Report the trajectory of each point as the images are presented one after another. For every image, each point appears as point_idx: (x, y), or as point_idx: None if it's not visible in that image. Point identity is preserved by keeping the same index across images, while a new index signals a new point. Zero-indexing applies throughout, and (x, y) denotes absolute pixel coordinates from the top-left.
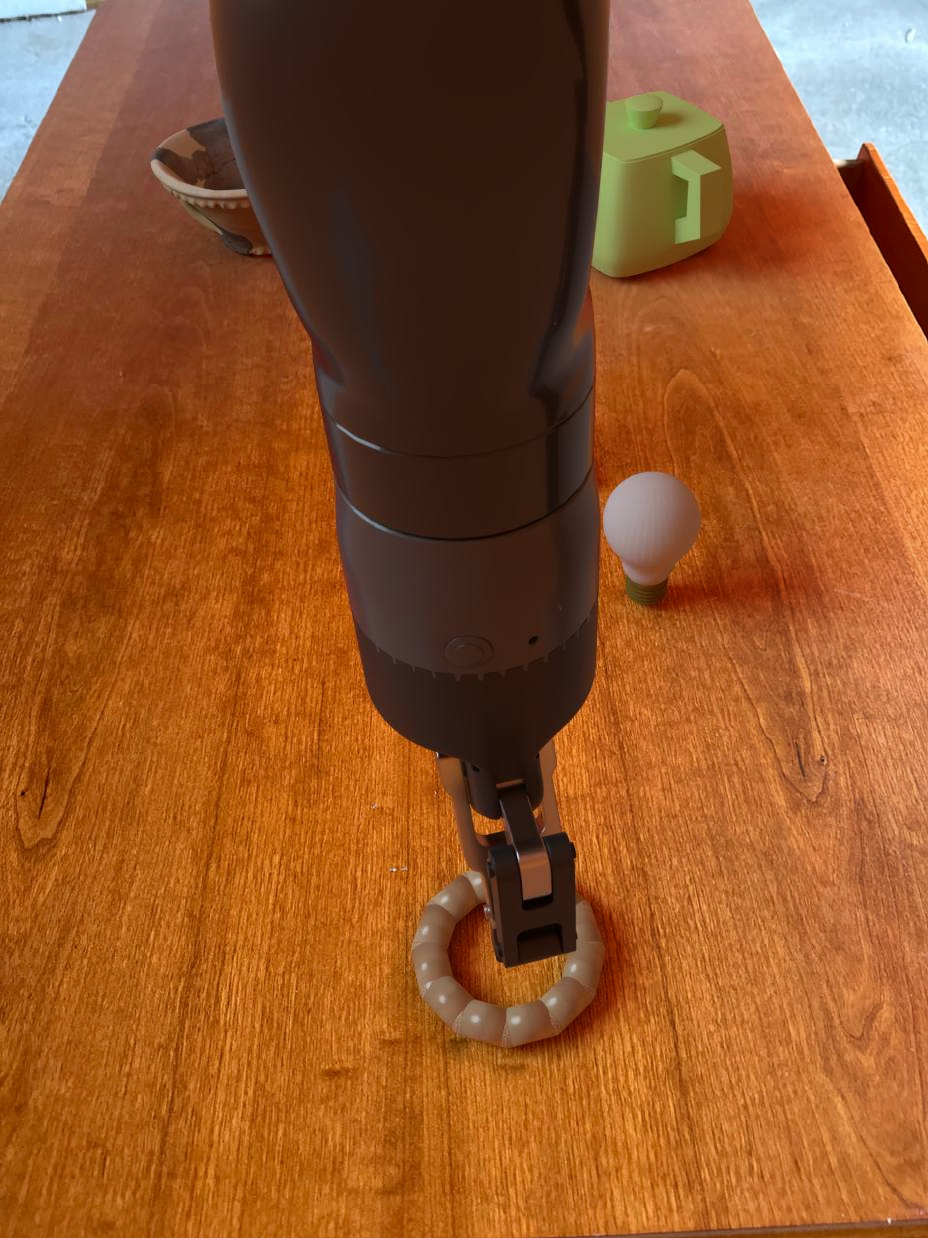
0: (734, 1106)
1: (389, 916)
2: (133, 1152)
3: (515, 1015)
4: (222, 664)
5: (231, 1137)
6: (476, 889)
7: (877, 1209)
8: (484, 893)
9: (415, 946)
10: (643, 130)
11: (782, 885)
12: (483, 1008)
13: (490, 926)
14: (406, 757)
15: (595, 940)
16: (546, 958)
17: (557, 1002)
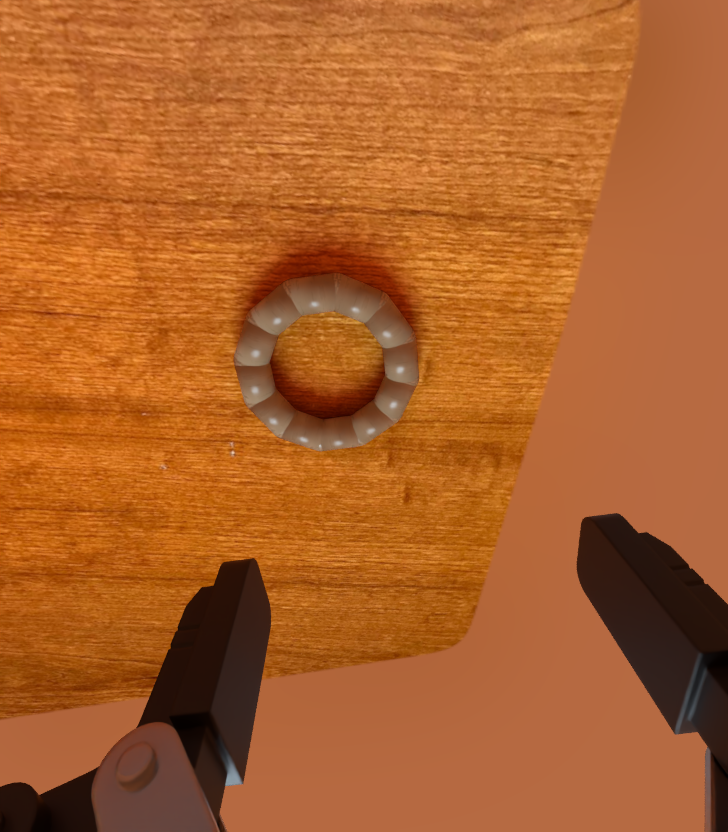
0: (505, 166)
1: (279, 457)
2: (435, 601)
3: (400, 374)
4: (11, 586)
5: (438, 554)
6: (267, 395)
7: (638, 31)
8: (705, 781)
9: (322, 450)
10: None
11: (261, 11)
12: (389, 401)
13: (616, 641)
14: (102, 438)
15: (333, 285)
16: (656, 539)
17: (394, 334)
